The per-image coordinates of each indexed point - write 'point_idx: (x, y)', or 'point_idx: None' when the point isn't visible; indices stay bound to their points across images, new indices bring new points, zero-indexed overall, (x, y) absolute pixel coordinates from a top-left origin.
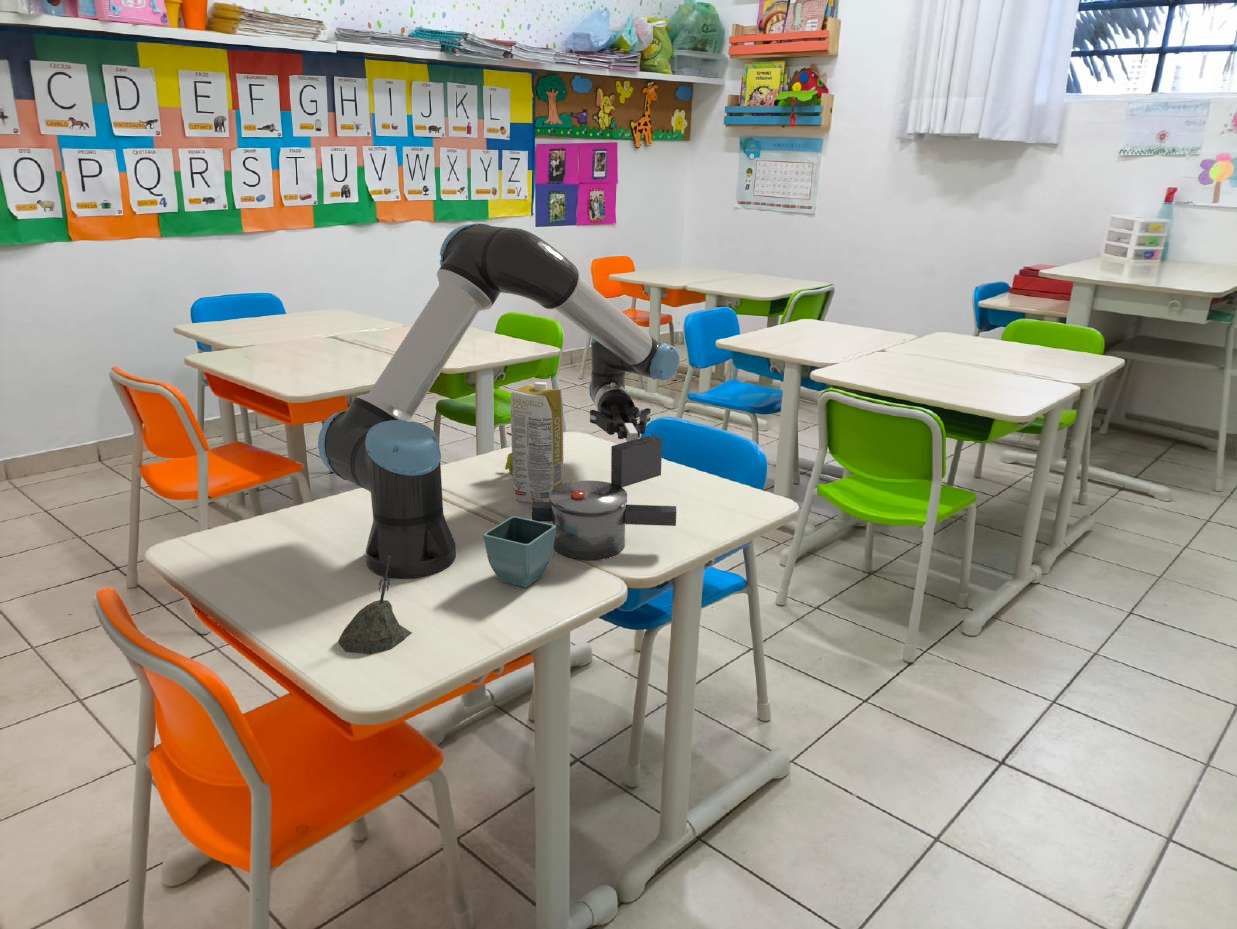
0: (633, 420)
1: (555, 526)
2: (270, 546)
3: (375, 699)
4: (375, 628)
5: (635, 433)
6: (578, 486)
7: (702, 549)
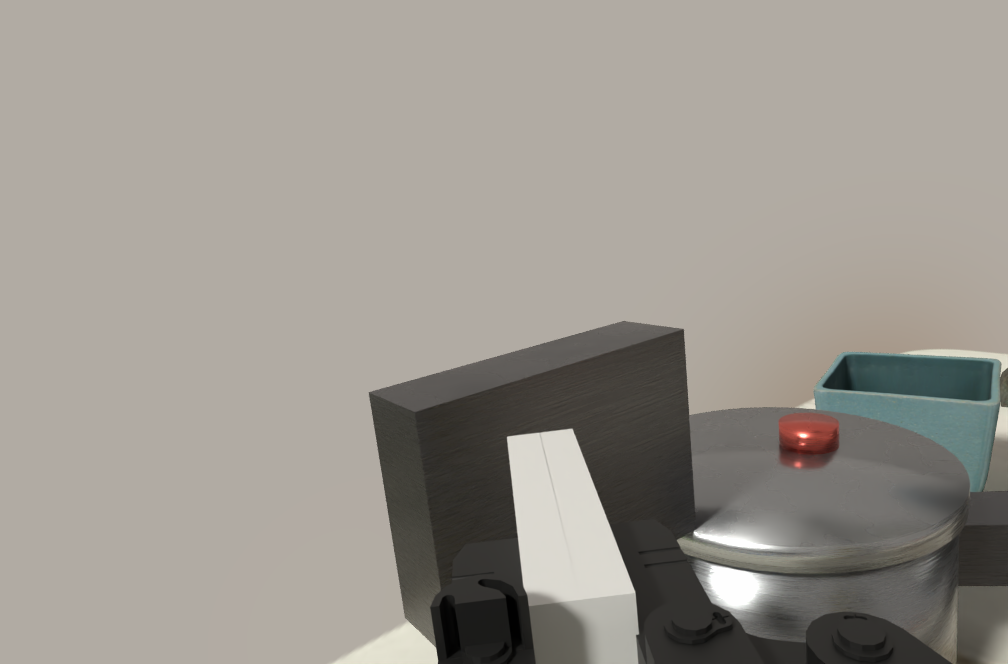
0: (498, 586)
1: (814, 389)
2: None
3: (924, 354)
4: None
5: (527, 437)
6: (856, 499)
7: (353, 657)
